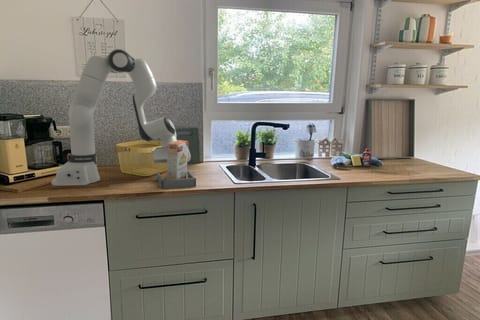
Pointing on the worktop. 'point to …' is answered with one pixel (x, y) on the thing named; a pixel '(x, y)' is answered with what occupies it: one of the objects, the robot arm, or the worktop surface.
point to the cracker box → (177, 160)
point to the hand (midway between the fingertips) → (173, 168)
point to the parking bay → (177, 181)
